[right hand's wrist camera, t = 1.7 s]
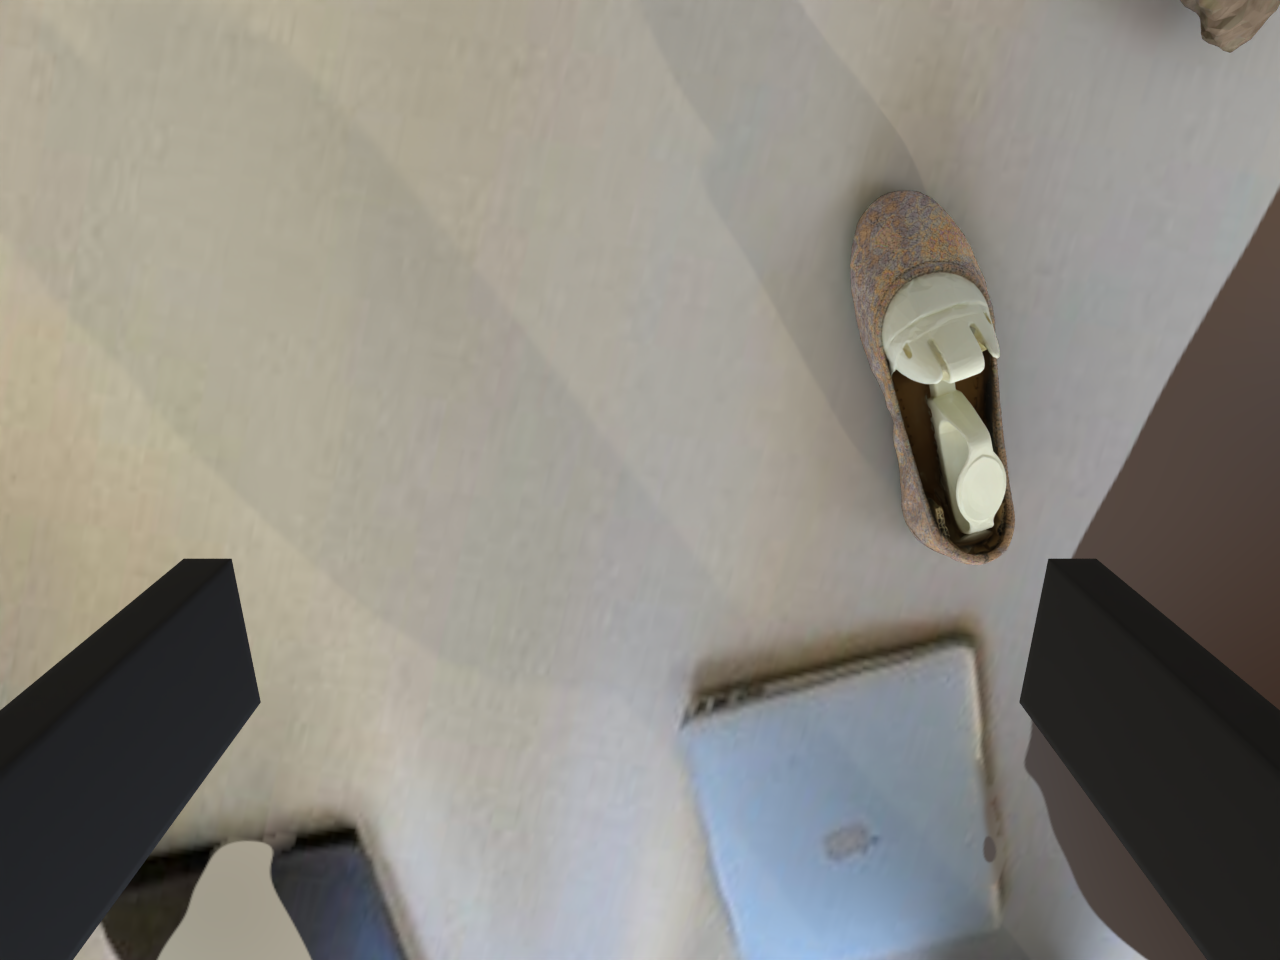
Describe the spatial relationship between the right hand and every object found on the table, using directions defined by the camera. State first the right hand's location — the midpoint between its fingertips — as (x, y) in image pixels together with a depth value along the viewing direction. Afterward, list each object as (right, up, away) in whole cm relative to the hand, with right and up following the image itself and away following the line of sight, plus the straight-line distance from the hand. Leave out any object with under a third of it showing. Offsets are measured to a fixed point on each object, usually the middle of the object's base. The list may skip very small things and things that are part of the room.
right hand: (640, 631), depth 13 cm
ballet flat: (+19, +10, +40) cm, 45 cm away
